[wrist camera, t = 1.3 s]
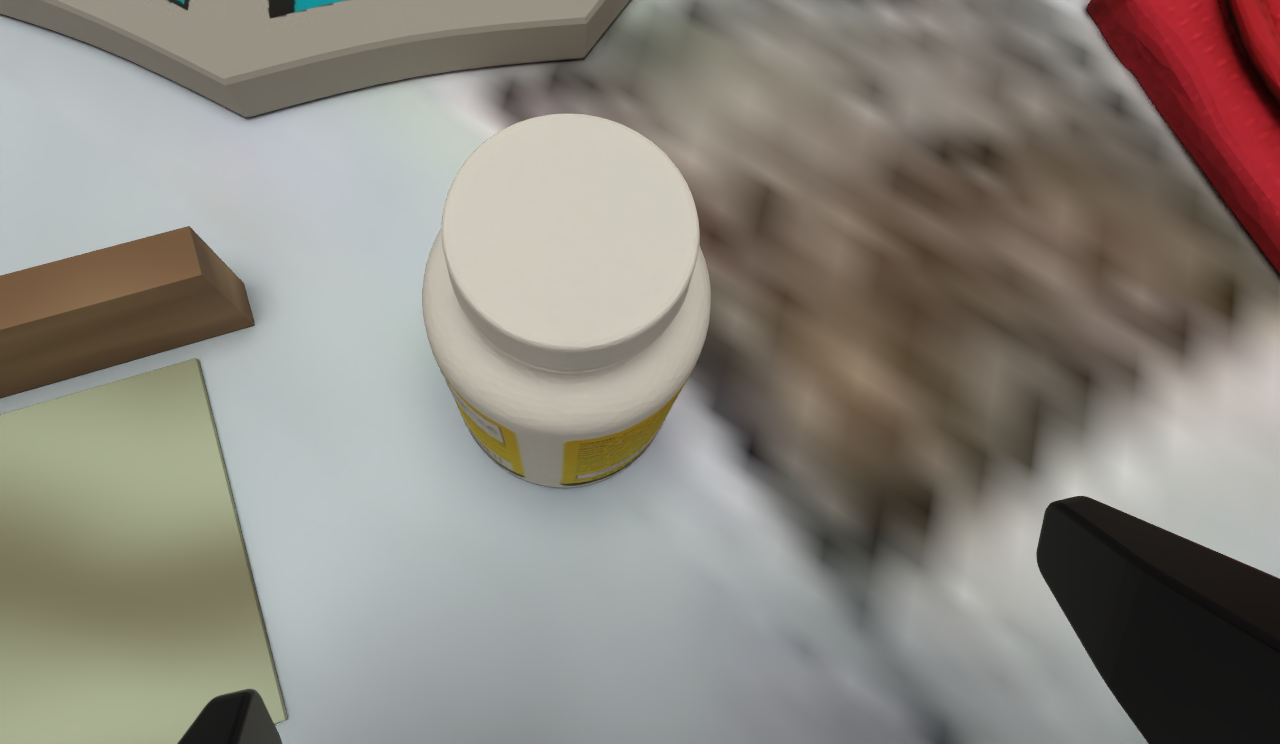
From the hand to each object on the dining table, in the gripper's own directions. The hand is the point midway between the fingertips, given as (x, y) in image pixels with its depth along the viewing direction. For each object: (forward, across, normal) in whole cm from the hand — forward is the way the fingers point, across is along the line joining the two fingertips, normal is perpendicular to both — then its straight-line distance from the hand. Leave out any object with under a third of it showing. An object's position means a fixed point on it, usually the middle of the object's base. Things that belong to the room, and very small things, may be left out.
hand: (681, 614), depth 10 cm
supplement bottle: (+13, 0, +5) cm, 14 cm away
